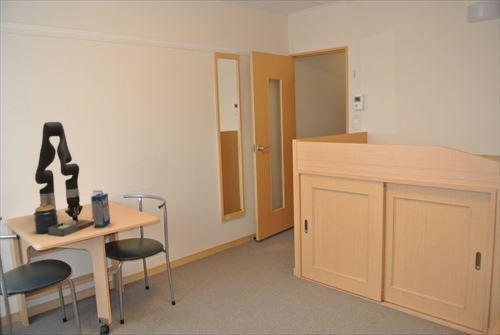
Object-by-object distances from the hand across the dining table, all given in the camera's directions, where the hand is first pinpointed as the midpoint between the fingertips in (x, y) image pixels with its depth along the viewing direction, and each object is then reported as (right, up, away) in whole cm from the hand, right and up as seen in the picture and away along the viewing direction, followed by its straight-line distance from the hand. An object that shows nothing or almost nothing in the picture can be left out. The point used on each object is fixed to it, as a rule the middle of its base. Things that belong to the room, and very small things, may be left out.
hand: (75, 222), depth 251 cm
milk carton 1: (+6, 0, +25) cm, 26 cm away
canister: (-16, -5, -3) cm, 17 cm away
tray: (-4, -5, -9) cm, 11 cm away
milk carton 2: (+15, -3, +5) cm, 16 cm away
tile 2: (-2, -2, -4) cm, 4 cm away
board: (+1, -3, +3) cm, 4 cm away
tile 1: (-3, -4, -8) cm, 10 cm away
